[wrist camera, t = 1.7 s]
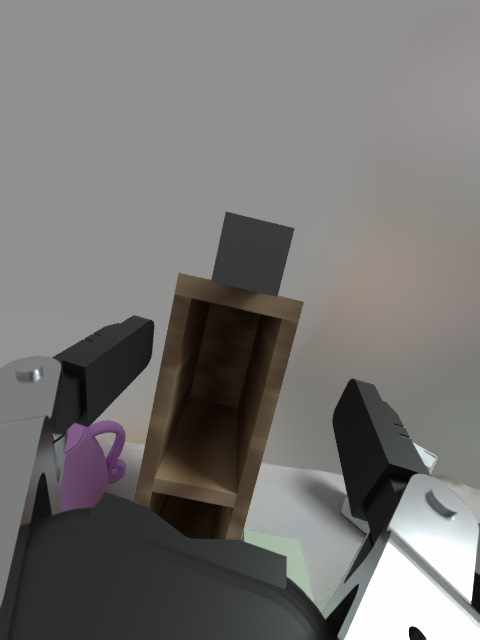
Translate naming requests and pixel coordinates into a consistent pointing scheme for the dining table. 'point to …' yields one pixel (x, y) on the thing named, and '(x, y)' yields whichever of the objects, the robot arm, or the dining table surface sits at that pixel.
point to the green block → (286, 548)
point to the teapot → (90, 465)
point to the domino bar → (252, 254)
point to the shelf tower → (214, 405)
